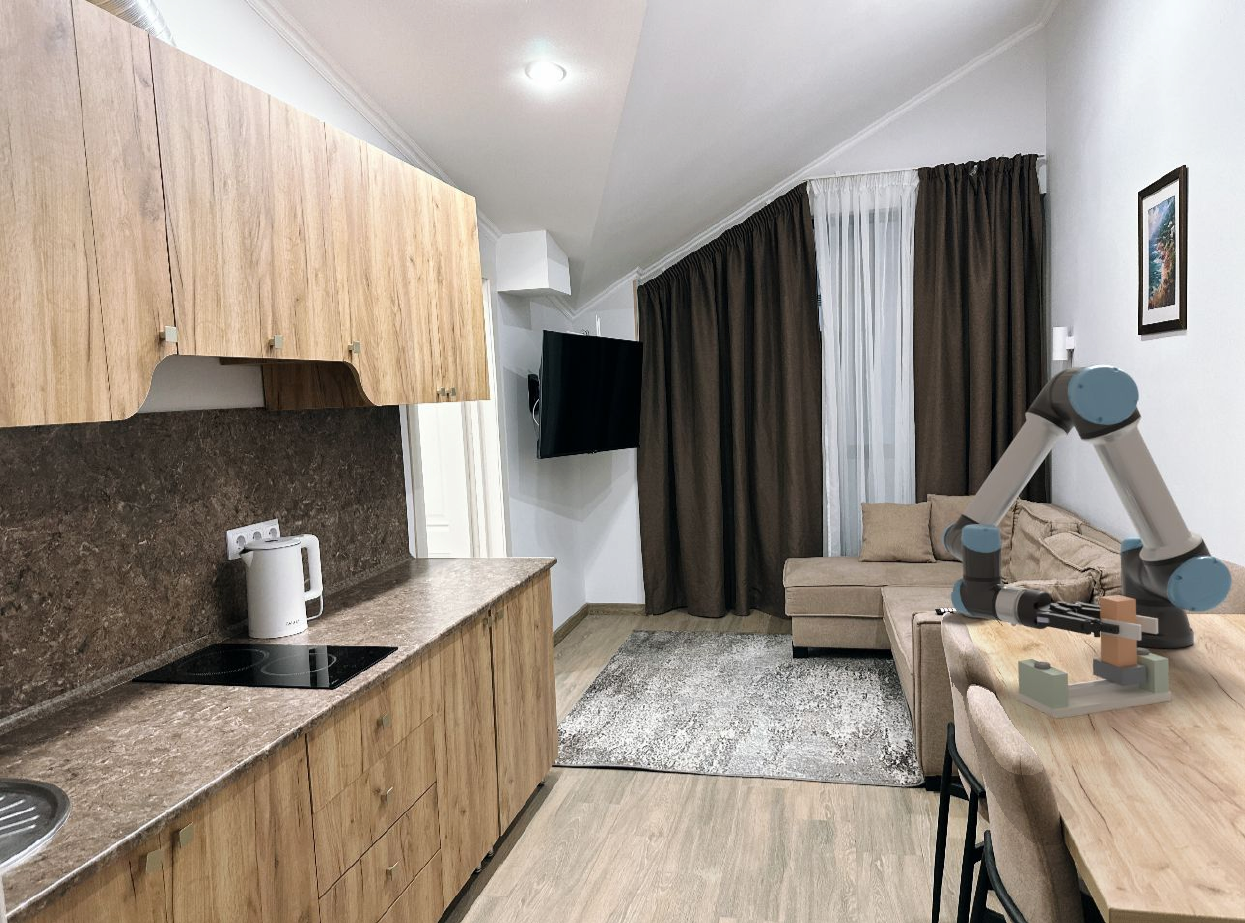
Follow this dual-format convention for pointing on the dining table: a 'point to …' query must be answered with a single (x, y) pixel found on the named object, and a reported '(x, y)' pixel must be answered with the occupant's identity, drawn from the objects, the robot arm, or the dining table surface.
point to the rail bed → (1099, 698)
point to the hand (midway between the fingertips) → (1148, 629)
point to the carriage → (1119, 645)
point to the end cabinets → (1053, 683)
